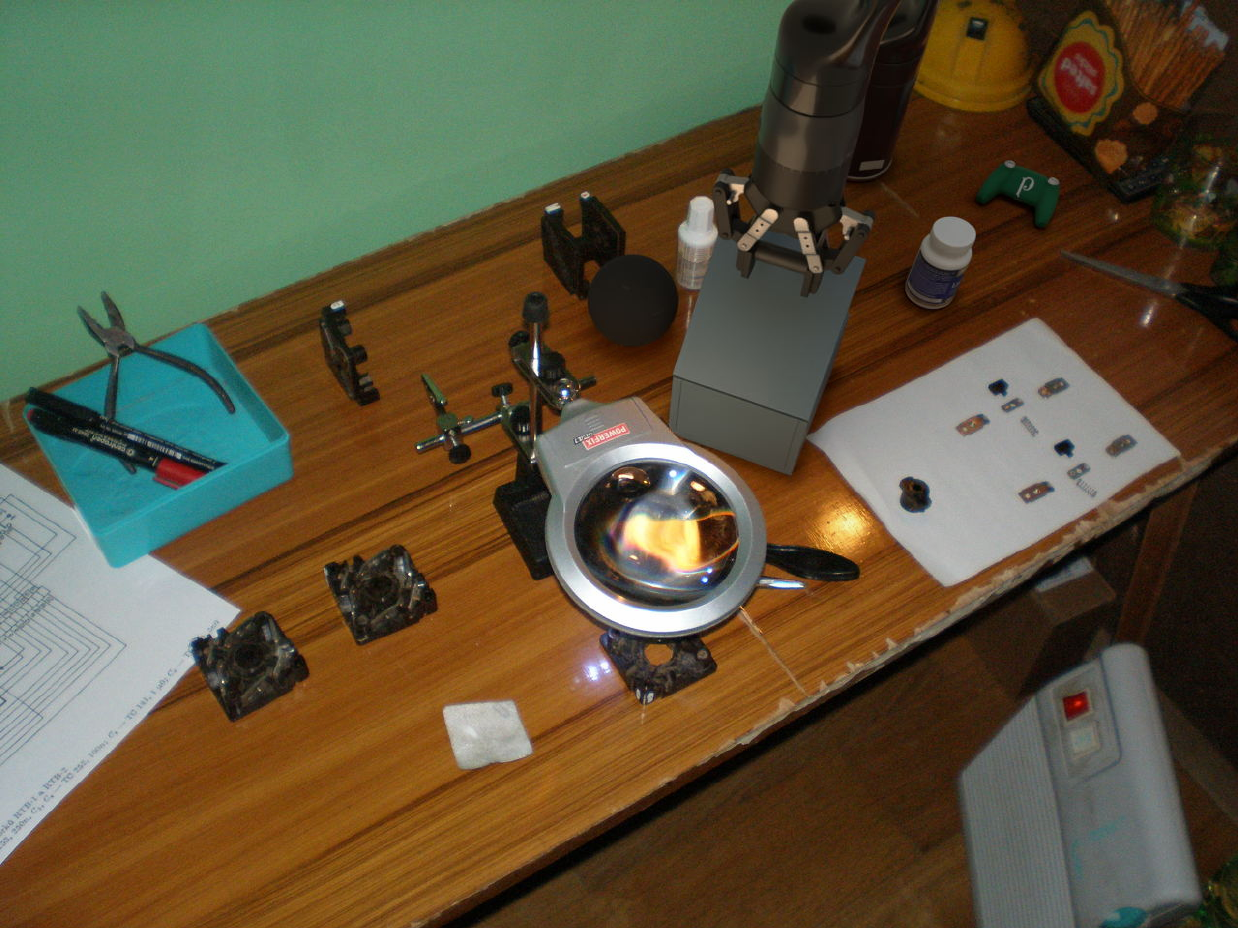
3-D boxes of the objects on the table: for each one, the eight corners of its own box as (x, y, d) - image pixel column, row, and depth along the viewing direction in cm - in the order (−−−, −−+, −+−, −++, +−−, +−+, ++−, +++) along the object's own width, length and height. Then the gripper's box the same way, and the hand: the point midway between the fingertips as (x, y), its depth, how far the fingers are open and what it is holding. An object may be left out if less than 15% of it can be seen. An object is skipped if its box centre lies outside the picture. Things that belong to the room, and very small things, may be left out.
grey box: (714, 333, 112) (723, 273, 103) (831, 371, 109) (850, 313, 101) (667, 432, 105) (673, 377, 96) (791, 476, 102) (807, 423, 93)
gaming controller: (1043, 231, 123) (1068, 186, 122) (1044, 228, 120) (1070, 181, 118) (974, 203, 126) (998, 158, 124) (973, 199, 122) (997, 153, 121)
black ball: (662, 374, 109) (667, 315, 100) (576, 352, 110) (574, 292, 102) (685, 308, 114) (692, 246, 105) (603, 288, 115) (603, 226, 107)
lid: (725, 216, 93) (717, 210, 88) (866, 259, 90) (866, 255, 85) (674, 374, 96) (663, 376, 91) (808, 420, 93) (805, 425, 89)
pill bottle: (952, 314, 114) (980, 254, 105) (902, 306, 114) (926, 245, 106) (953, 278, 117) (981, 216, 108) (905, 270, 117) (928, 208, 109)
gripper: (911, 128, 76) (863, 275, 90) (735, 79, 78) (717, 230, 93) (885, 193, 72) (840, 335, 87) (703, 140, 75) (689, 286, 90)
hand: (776, 280), depth 90 cm, fingers closed on lid, 5 cm apart
